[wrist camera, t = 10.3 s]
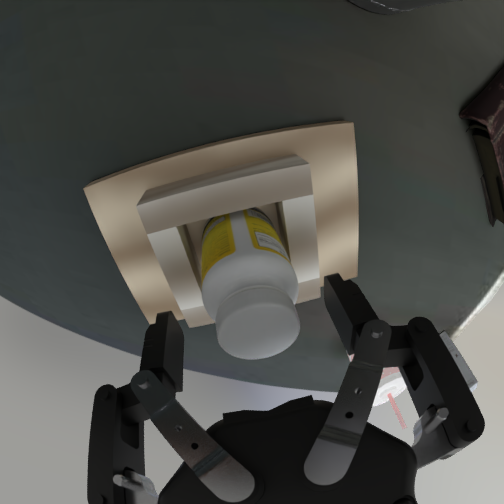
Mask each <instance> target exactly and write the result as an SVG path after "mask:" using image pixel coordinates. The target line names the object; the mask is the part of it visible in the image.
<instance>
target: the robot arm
mask: <svg viewBox="0 0 504 504" xmlns="http://www.w3.org/2000/svg"><path fill="white" fill-rule="evenodd" d="M349 1H350V2H352V3H354V4H355V5H357V6H359V7H361V8H363V9H366V10H368V11H371V12H375V13H379V14H389V15H390V14H396V13H400V12H404V11H410V10H414V9H416V8H420V7H425V6H430V5H436V4H441V3H447V2H454V1H461V0H349ZM324 300H325V305H326V308H327V310H328V312H329V314H330V316H331V318H332V321H333V323H334V325H335V327H336V329H337V331H338V333H339V336H340V338H341V340H342V342H343V344H344V346H345V349H346V351H347V353H348V355H349V356H350V355H353V354H354V357H353V359H352V361H351V362H350V364H349V367H348V369H347V372H346V375H345V377H344V380H343V382H342V385H341V387H340V390H339V392H338V395H337V397H336V399H335V402H334V403H332V402H329V401H323V400H313V398H312V395H310V396H306V397H302V398H298V399H294V400H290V401H288V402H286V403H284V404H282V405H280V406H278V407H276V408H273V409H271V410H269V411H254V410H252V411H251V410H242V411H236V412H229V413H223V420H220V421H218V422H216V423H215V424H213V425H212V426H211V427H209V428H208V429H207V430H206V431H205V430H204V429H203V428H202V427H201V426H200V425H199V424H198V423H197V422H196V421H195V419H194V418H193V417H192V416H191V415H190V414H189V413H188V412H187V411H186V410H185V409H184V408H183V407H182V406H181V405H180V403H179V402H178V401H177V400H176V399H175V395H176V394H175V393H176V392H182V391H183V354H184V335H183V332H182V329H181V327H180V325H179V323H178V322H177V320H176V318H175V316H174V314H173V312H172V311H165V312H160V313H157V315H156V321H155V323H154V324H150V326H149V328H148V329H147V331H146V334H145V339H144V340H145V341H144V345H143V347H144V348H143V351H142V358H141V364H140V371H139V372H138V373H136V374H135V375H134V376H133V378H132V379H131V382H130V383H129V384H127V385H125V386H122V387H119V388H117V389H116V388H115V387H114V386H113V385H110V384H107V385H103V386H101V387H100V388H99V389H98V390H97V392H96V394H95V398H94V404H93V412H92V421H91V429H90V440H89V455H88V480H87V481H88V482H87V483H88V484H87V485H88V486H87V498H88V503H89V504H418V503H417V501H416V498H415V494H414V484H415V477H416V472H417V470H418V469H419V468H422V467H424V466H426V465H428V464H430V463H432V462H434V461H436V460H438V459H447V458H449V457H451V456H452V455H454V454H455V453H457V452H459V451H460V450H462V449H463V448H465V447H466V446H468V445H469V444H471V443H472V442H474V441H475V440H477V439H478V438H479V437H480V436H481V435H482V433H483V431H484V426H485V422H484V418H483V416H482V414H481V411H480V409H479V407H478V405H477V403H476V401H475V399H474V397H473V395H472V392H471V390H470V388H469V387H468V385H467V383H466V381H465V379H464V377H463V375H462V373H461V371H460V369H459V368H458V366H457V364H456V362H455V360H454V359H453V357H452V355H451V353H450V352H449V350H448V348H447V347H446V345H445V343H444V342H443V340H442V338H441V337H440V335H439V333H438V332H437V330H436V329H435V327H434V325H433V324H432V322H431V321H430V320H428V319H427V318H424V317H415V318H413V319H411V320H410V321H409V323H408V325H404V326H390V325H389V324H388V323H387V322H385V321H383V320H379V318H378V317H377V315H376V313H375V312H374V310H373V309H372V307H371V305H370V304H369V302H368V301H367V299H366V298H365V296H364V294H363V293H362V291H361V290H360V288H359V287H358V285H357V284H355V283H354V282H352V281H351V280H347V281H344V280H343V279H342V277H341V276H340V274H339V273H334V274H331V275H327V276H324ZM389 367H398V368H399V371H400V373H401V375H402V377H403V380H404V382H405V384H406V386H407V388H408V391H409V393H410V396H411V398H412V401H413V403H414V405H415V408H416V410H417V413H418V415H419V419H418V421H417V422H416V423H415V425H414V431H413V432H414V443H413V445H412V447H410V446H409V445H408V444H407V443H406V442H404V441H402V440H400V439H398V438H396V437H394V436H392V435H390V434H389V433H387V432H385V431H383V430H381V429H379V428H377V427H376V426H374V425H372V424H370V423H368V422H367V420H368V417H369V414H370V411H371V408H372V405H373V402H374V399H375V396H376V393H377V390H378V386H379V383H380V379H381V376H382V372H383V368H389ZM148 419H151V421H152V422H153V423H154V425H155V426H156V427H157V429H158V430H159V431H160V433H161V434H162V435H163V436H164V438H165V439H166V440H167V441H168V443H169V444H170V445H171V446H172V447H173V448H174V450H175V451H176V452H177V453H178V454H179V456H180V457H181V458H182V459H183V460H184V462H183V463H182V464H181V466H180V467H179V469H178V470H177V471H176V473H175V474H174V475H173V477H172V478H171V479H170V480H169V482H168V483H167V484H166V486H165V487H164V488H163V490H162V491H161V492H160V494H159V495H157V493H156V491H155V488H154V484H153V483H152V481H151V480H150V479H149V478H147V477H145V464H144V463H145V462H144V421H145V420H148Z"/></svg>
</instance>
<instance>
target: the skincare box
mask: <svg viewBox="0 0 504 504" xmlns="http://www.w3.org/2000/svg"><path fill="white" fill-rule="evenodd" d="M440 337H441V338H442V340H443V342H444V343H445V345H446V347H447V348H448V350H449V352H450V353H451V355H452V357H453V359H454V360H455V362H456V364H457V366H458V368H459V369H460V371H461V373H462V375H463V377H464V379H465V381H466V383H467V385H468V387H469V388H470V390H471V392H472V391H473V390H475V389H476V387H477V383H478V381H477V380H476V378H475V376H474V375H473V373H472V371H471V370H470V368H469V366H468V365H467V363H466V362H465V360H464V358H463V357H462V355H461V354H460V352H459V351H458V349H457V348H456V346H455V345H454V343H453V342H452V340H451V339H450V337H449V336H448V334H447V333H446V331H444V332H442V333H441V334H440Z"/></svg>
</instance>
